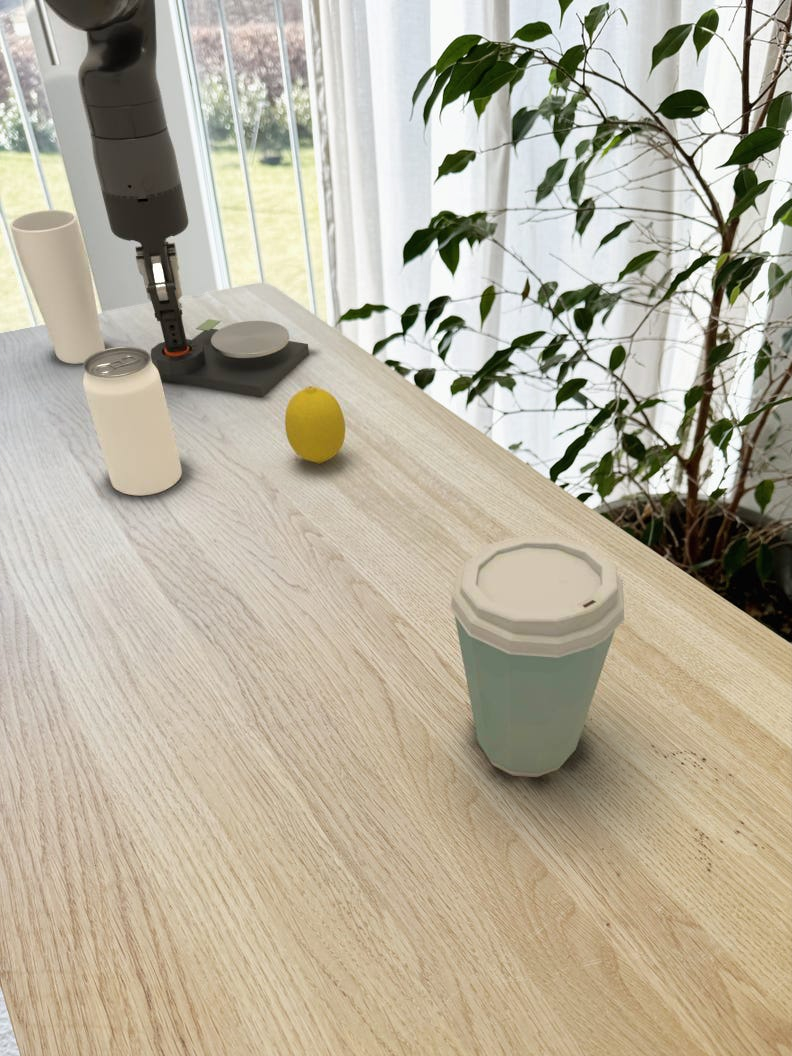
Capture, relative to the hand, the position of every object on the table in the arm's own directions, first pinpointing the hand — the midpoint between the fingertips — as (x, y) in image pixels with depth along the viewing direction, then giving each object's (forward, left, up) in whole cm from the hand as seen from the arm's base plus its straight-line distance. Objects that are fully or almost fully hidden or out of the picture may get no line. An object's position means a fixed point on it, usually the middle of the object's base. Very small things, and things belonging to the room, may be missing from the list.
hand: (177, 349), depth 108 cm
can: (+8, -19, -3) cm, 21 cm away
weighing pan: (+5, +5, 0) cm, 7 cm away
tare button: (0, 0, -2) cm, 2 cm away
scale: (+4, +4, -3) cm, 6 cm away
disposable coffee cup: (+52, -39, -3) cm, 66 cm away
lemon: (+22, -11, -3) cm, 25 cm away
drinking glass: (-14, +1, -3) cm, 14 cm away
